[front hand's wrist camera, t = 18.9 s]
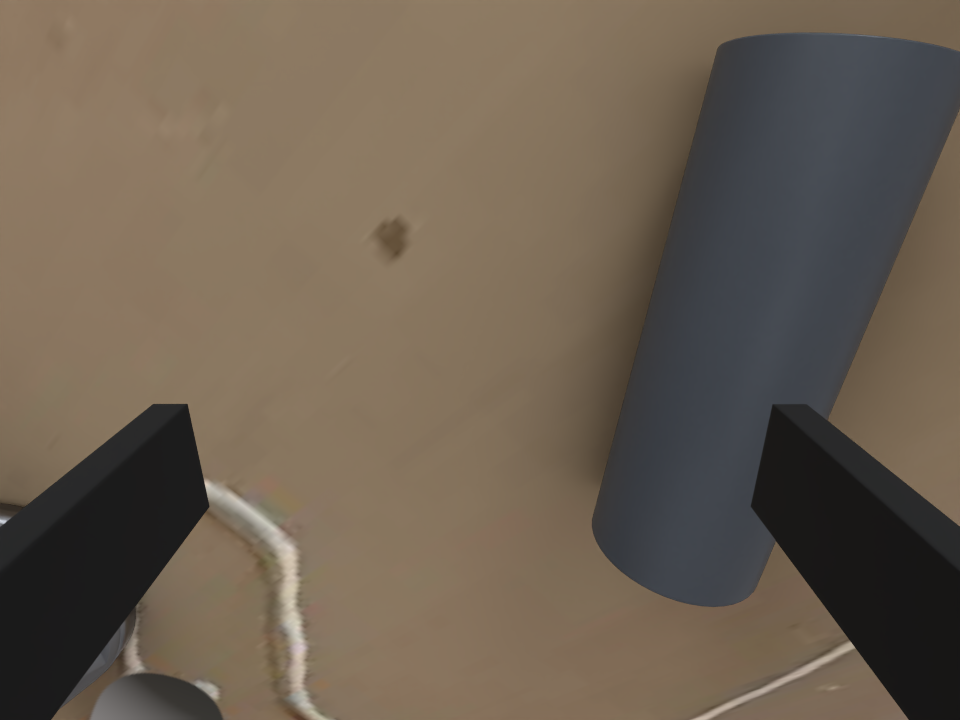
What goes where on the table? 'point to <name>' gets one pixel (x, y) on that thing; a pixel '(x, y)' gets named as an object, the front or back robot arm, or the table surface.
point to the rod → (764, 288)
